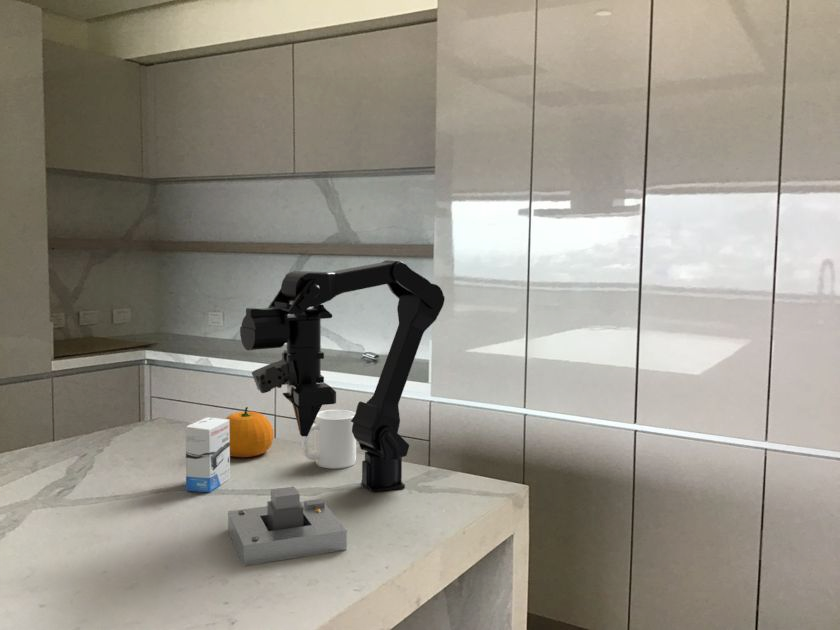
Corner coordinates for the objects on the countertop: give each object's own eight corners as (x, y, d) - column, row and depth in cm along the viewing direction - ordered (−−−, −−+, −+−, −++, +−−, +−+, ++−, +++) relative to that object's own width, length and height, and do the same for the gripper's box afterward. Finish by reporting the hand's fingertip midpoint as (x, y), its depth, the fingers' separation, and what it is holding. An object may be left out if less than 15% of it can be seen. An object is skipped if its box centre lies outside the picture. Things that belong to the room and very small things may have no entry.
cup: (364, 464, 152) (364, 415, 151) (313, 475, 144) (313, 424, 143) (340, 454, 158) (341, 407, 157) (291, 465, 151) (291, 416, 150)
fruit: (248, 442, 167) (248, 398, 166) (285, 451, 160) (285, 406, 159) (205, 454, 157) (204, 408, 156) (243, 465, 151) (242, 416, 150)
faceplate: (320, 516, 123) (320, 494, 123) (346, 549, 110) (346, 524, 110) (228, 529, 117) (227, 506, 117) (243, 566, 105) (243, 539, 104)
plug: (296, 528, 117) (296, 485, 116) (303, 539, 113) (303, 494, 112) (267, 532, 115) (267, 488, 114) (273, 544, 111) (273, 498, 110)
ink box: (210, 493, 134) (209, 429, 132) (184, 491, 135) (183, 427, 133) (231, 478, 142) (230, 417, 141) (207, 476, 143) (206, 416, 142)
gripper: (245, 340, 132) (246, 427, 133) (267, 356, 115) (268, 455, 116) (307, 337, 136) (307, 421, 138) (337, 352, 119) (337, 448, 121)
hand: (303, 435), depth 128 cm, fingers closed
